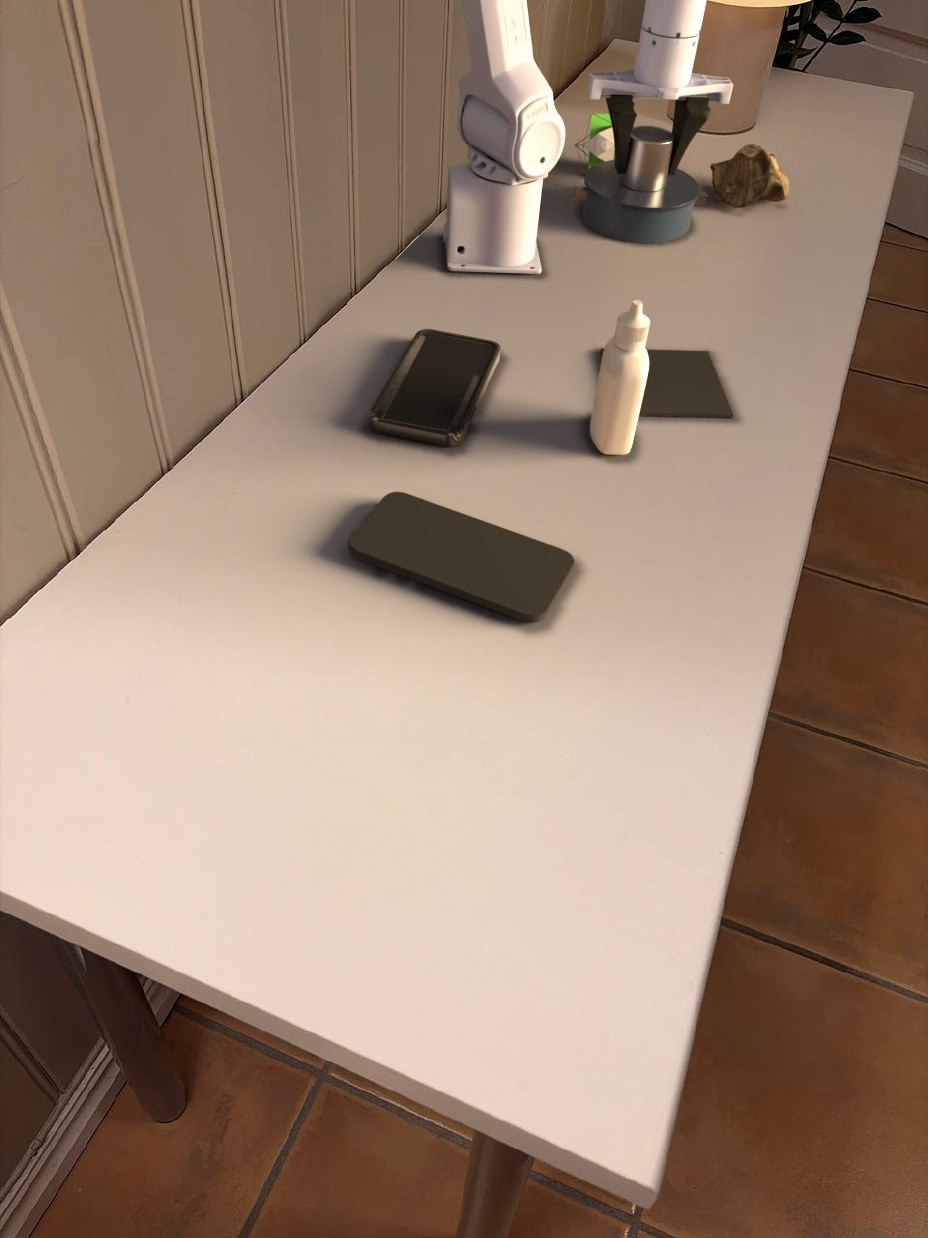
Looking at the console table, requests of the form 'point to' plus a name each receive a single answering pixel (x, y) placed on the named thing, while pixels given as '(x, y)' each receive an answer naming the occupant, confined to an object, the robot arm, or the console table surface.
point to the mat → (683, 386)
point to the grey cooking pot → (638, 206)
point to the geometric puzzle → (599, 140)
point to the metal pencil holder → (648, 158)
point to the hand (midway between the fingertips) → (644, 170)
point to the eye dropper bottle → (621, 383)
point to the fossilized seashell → (749, 178)
